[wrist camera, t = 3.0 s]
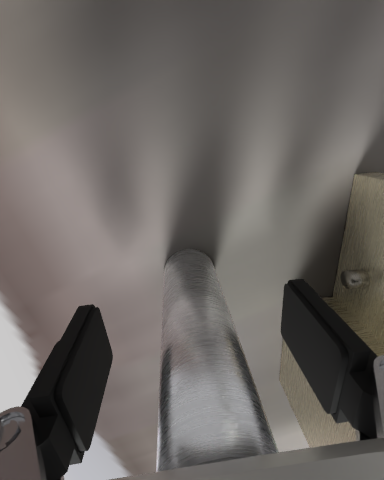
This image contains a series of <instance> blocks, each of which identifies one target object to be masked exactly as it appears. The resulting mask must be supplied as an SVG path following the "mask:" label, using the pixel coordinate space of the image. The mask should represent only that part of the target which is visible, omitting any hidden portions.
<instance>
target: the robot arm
mask: <svg viewBox="0 0 384 480" xmlns="http://www.w3.org/2000/svg"><path fill="white" fill-rule="evenodd" d="M281 334H282V337H283V339H284V341H285V343H286V344H287V346H288V348H289V350H290V351H291V353H292V355H293V357H294V358H295V360H296V362H297V364H298V365H299V367H300V369H301V371H302V372H303V374H304V376H305V378H306V379H307V381H308V383H309V385H310V386H311V388H312V390H313V392H314V393H315V395H316V397H317V399H318V400H319V402H320V404H321V406H322V407H323V409H324V411H325V412H326V413H327V414H331V415H332V417H333V419H334V421H335V422H336V424H338V423H344V422H349V423H350V424H351V426H352V427H353V428H354V429H355V431H356V441H354V442H346V443H339V444H332V445H326V446H319V447H312V448H306V449H299V450H293V451H286V452H280V453H273V454H266V455H260V456H254V457H247V458H241V459H235V460H228V461H222V462H216V463H209V464H203V465H197V466H190V467H184V468H178V469H172V470H166V471H159V472H153V473H147V474H141V475H135V476H129V477H123V478H117V479H111V480H384V355H381V356H377V355H376V354H375V353H374V352H373V351H372V350H371V349H370V348H369V346H368V345H367V344H366V343H365V342H364V341H363V340H362V339H361V338H360V337H359V336H358V335H357V334H356V333H355V332H354V331H353V330H352V329H351V328H350V327H349V326H348V325H347V324H346V323H345V321H344V320H343V319H342V318H341V317H340V316H339V315H338V314H337V313H336V312H335V311H334V310H333V309H332V308H331V307H329V306H328V305H327V304H326V302H325V301H324V300H323V299H322V298H321V297H320V296H319V295H318V294H317V293H316V292H315V291H314V290H313V289H312V288H311V287H310V286H309V285H308V284H307V283H306V282H305V281H304V280H303V279H295V280H289V281H288V284H285V285H284V296H283V309H282V321H281ZM112 358H113V355H112V350H111V346H110V343H109V340H108V336H107V333H106V329H105V326H104V323H103V319H102V316H101V313H100V309H99V308H98V307H96V308H95V306H94V305H85V306H79V307H78V309H77V310H76V312H75V314H74V316H73V318H72V320H71V321H70V323H69V325H68V327H67V329H66V331H65V333H64V334H63V336H62V338H61V340H60V341H58V342H57V343H56V345H55V346H54V348H53V350H52V352H51V353H50V355H49V357H48V359H47V361H46V362H45V364H44V366H43V368H42V370H41V372H40V373H39V375H38V377H37V379H36V381H35V382H34V384H33V386H32V388H31V390H30V391H29V393H28V395H27V397H26V399H25V400H24V402H23V404H22V406H21V407H14V408H10V409H8V410H6V411H3V412H1V413H0V480H64V476H63V475H64V474H65V473H66V472H67V470H68V467H69V465H71V464H77V463H81V462H82V459H83V455H84V451H88V449H89V448H90V445H91V441H92V437H93V434H94V430H95V426H96V422H97V418H98V414H99V410H100V407H101V403H102V399H103V395H104V391H105V387H106V383H107V379H108V375H109V371H110V368H111V364H112Z"/></svg>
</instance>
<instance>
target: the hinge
mask: <svg viewBox="0 0 384 480" xmlns="http://www.w3.org/2000/svg"><path fill="white" fill-rule="evenodd" d="M322 299H323V300H324V301H325V302H326V304H327V305H328V306H329V307H331V308H332V309H333V310H334V311H335V312H336V313H337V314H338V315H339V316H340V317H341V318H342V319H343V320H344V321H345V323H346V324H347V325H348V326H349V327H350V328H351V329H352V330H353V331H354V332H355V333H356V334H357V335H358V336H359V337H360V338H361V339H362V340H363V341H364V342H365V343H366V344H367V345H368V346H369V348H370V349H371V350H372V351H373V352H374V353H375V354H376V355H377V356H381V355H384V173H378V172H372V173H363V174H355V175H354V180H353V186H352V191H351V197H350V203H349V208H348V214H347V219H346V225H345V230H344V236H343V242H342V247H341V253H340V258H339V264H338V269H337V275H336V281H335V286H334V292H333V296H331V297H323V298H322ZM279 380H280V383H281V385H282V387H283V389H284V391H285V394H286V396H287V398H288V400H289V402H290V405H291V407H292V409H293V411H294V413H295V416H296V418H297V420H298V422H299V424H300V427H301V429H302V431H303V433H304V435H305V438H306V440H307V442H308V444H309V446H310V448H312V447H319V446H326V445H332V444H339V443H346V442H354V441H356V431H355V429H354V428H353V427H352V426H351V424H350V423H349V422H344V423H338V424H336V422H335V421H334V419H333V417H332V415H331V414H327V413H326V412H325V411H324V409H323V407H322V406H321V404H320V402H319V400H318V399H317V397H316V395H315V393H314V392H313V390H312V388H311V386H310V385H309V383H308V381H307V379H306V378H305V376H304V374H303V372H302V371H301V369H300V367H299V365H298V364H297V362H296V360H295V358H294V357H293V355H292V353H291V351H290V350H289V348H288V346H287V344H286V343H285V341H284V339H283V345H282V356H281V368H280V379H279Z"/></svg>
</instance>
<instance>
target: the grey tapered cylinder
mask: <svg viewBox="0 0 384 480" xmlns="http://www.w3.org/2000/svg"><path fill="white" fill-rule="evenodd" d="M273 453H279V452H278V449H277V446H276V444H275V441H274V438H273V435H272V432H271V429H270V426H269V423H268V420H267V418H266V415H265V412H264V409H263V406H262V403H261V400H260V397H259V395H258V392H257V389H256V386H255V383H254V380H253V377H252V374H251V372H250V369H249V366H248V363H247V360H246V357H245V354H244V351H243V349H242V346H241V343H240V340H239V337H238V334H237V331H236V328H235V326H234V323H233V320H232V317H231V314H230V311H229V308H228V305H227V303H226V300H225V297H224V294H223V291H222V288H221V285H220V282H219V280H218V277H217V274H216V271H215V268H214V265H213V263H212V260H211V259H210V258H209V256H208V255H206V254H205V253H204V252H202V251H199V250H195V249H185V250H181V251H178V252H176V253H175V254H173V255H172V256H171V257H170V258H169V259H168V261H167V262H166V265H165V268H164V287H163V313H162V338H161V363H160V388H159V413H158V439H157V464H156V472H159V471H166V470H172V469H178V468H184V467H190V466H197V465H203V464H209V463H216V462H222V461H228V460H235V459H241V458H247V457H254V456H260V455H266V454H273Z"/></svg>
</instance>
